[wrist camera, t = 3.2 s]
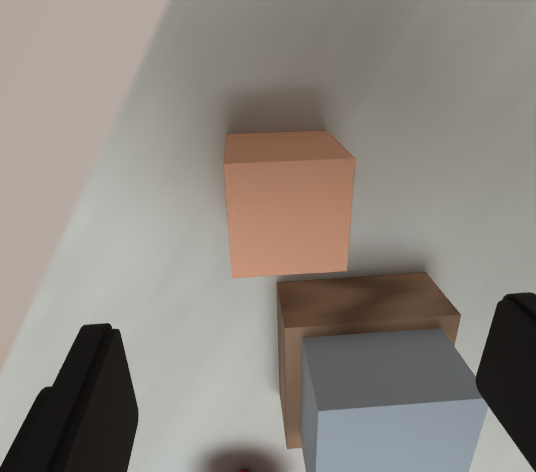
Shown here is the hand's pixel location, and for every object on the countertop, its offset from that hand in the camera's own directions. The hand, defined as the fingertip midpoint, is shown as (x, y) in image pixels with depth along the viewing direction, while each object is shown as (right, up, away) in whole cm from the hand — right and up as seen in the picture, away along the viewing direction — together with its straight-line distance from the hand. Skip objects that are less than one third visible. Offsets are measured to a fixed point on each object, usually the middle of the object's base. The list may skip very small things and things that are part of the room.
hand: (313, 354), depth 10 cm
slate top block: (+5, -6, +14) cm, 16 cm away
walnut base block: (+5, -4, +19) cm, 20 cm away
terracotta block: (-1, +6, +13) cm, 15 cm away
